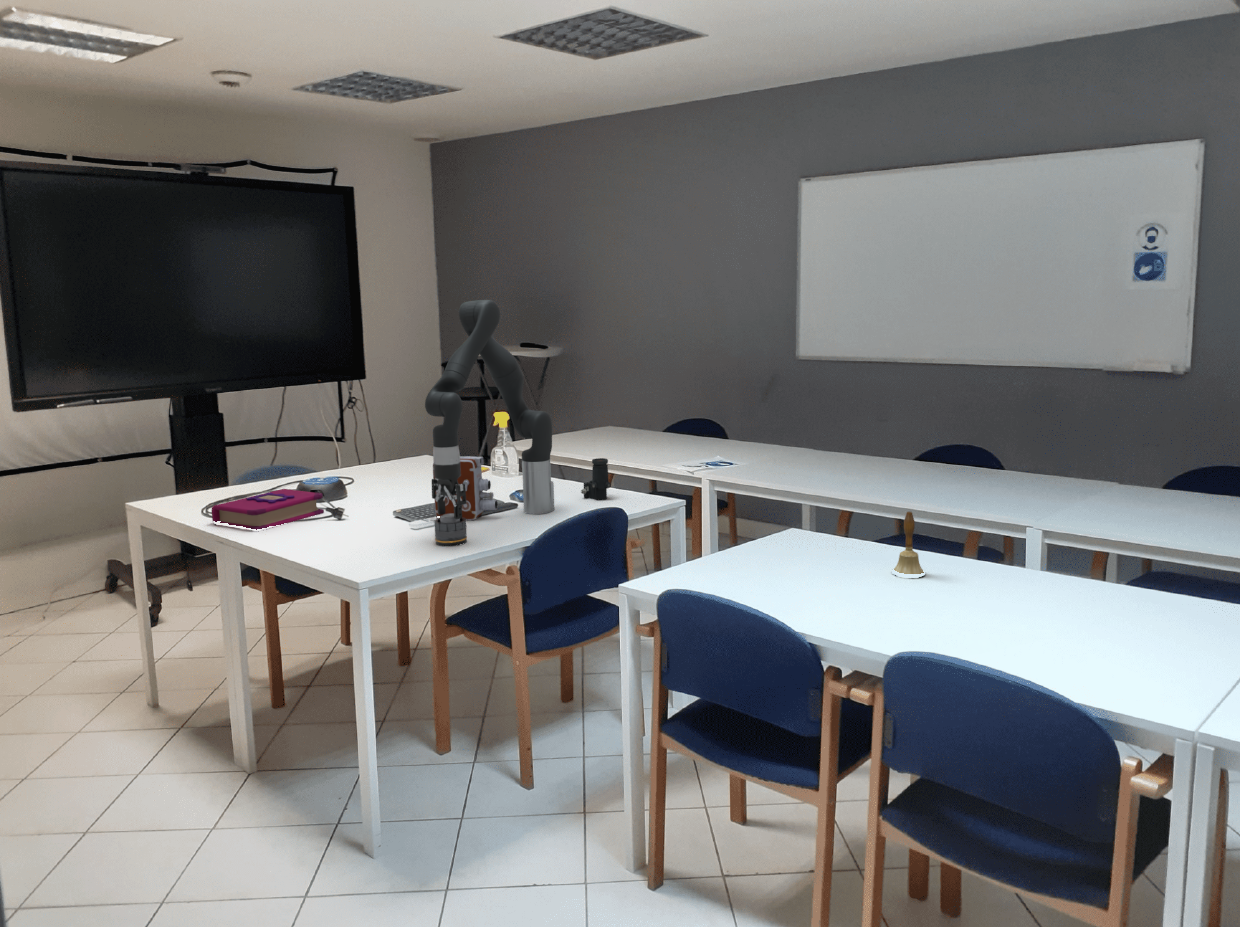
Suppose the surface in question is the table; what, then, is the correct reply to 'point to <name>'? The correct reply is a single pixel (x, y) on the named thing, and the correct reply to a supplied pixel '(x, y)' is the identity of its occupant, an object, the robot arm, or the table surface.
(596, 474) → the scope
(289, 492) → the book
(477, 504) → the cine camera
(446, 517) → the lens cap
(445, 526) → the lens barrel
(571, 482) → the table surface
